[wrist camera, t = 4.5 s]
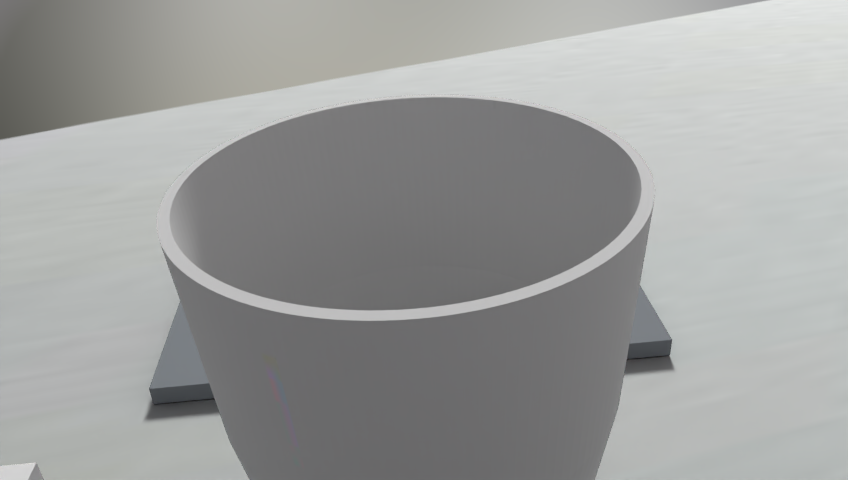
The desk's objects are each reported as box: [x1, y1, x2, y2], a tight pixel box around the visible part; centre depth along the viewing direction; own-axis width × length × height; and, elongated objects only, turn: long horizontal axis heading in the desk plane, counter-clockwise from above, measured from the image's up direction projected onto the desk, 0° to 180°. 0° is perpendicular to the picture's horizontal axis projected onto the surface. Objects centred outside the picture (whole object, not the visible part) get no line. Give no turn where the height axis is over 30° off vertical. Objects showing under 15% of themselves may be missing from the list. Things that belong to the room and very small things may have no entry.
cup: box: [156, 95, 655, 480], centre depth 15 cm, size 8×8×10 cm
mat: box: [149, 285, 672, 404], centre depth 30 cm, size 16×15×1 cm
